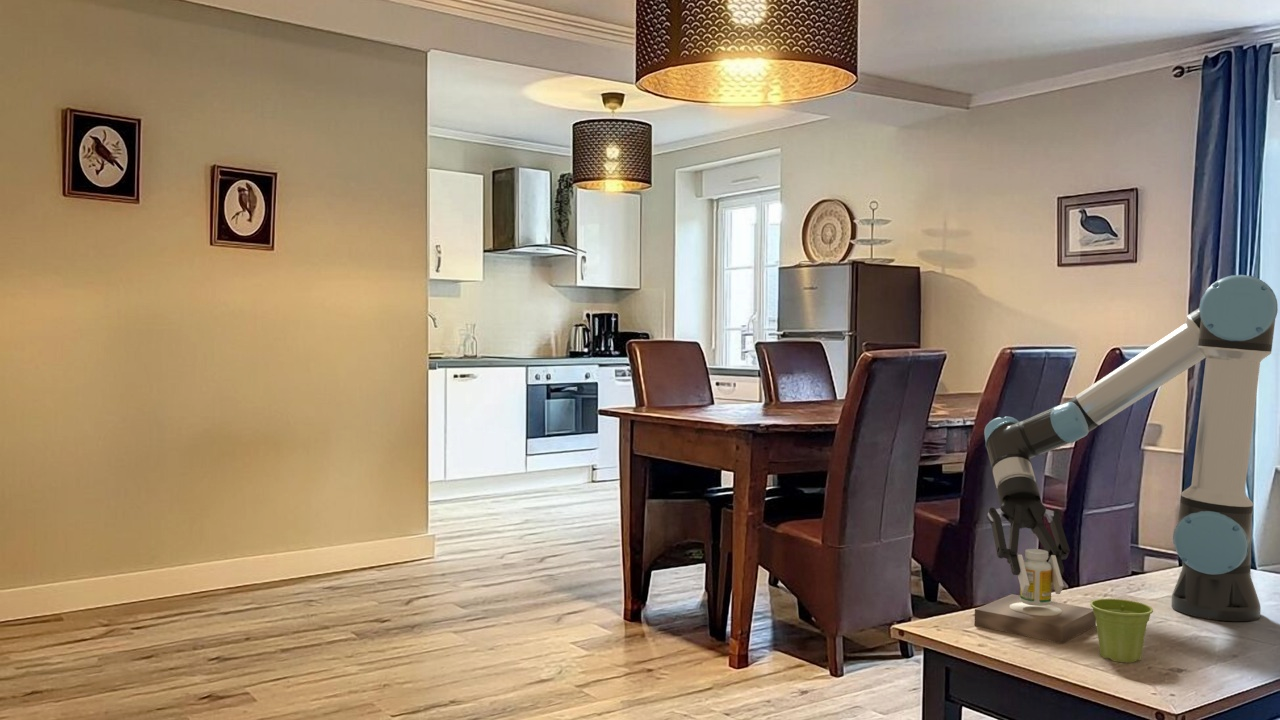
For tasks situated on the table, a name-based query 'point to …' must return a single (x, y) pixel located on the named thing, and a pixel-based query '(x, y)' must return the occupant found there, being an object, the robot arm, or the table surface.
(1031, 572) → the supplement bottle
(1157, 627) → the table surface
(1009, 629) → the walnut plinth
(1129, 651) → the plant pot
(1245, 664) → the table surface
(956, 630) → the table surface
